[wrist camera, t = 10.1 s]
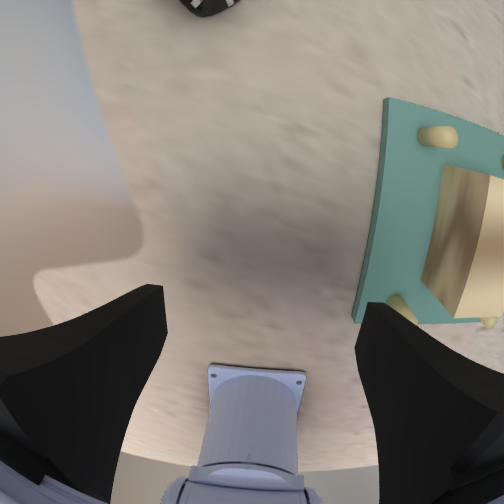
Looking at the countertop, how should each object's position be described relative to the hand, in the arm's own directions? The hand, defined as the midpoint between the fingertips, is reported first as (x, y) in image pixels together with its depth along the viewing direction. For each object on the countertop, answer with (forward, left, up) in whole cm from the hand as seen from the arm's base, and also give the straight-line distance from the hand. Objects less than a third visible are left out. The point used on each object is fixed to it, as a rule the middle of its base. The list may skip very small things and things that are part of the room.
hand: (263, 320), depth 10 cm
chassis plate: (+2, -13, -9) cm, 16 cm away
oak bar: (+2, -13, -8) cm, 16 cm away
